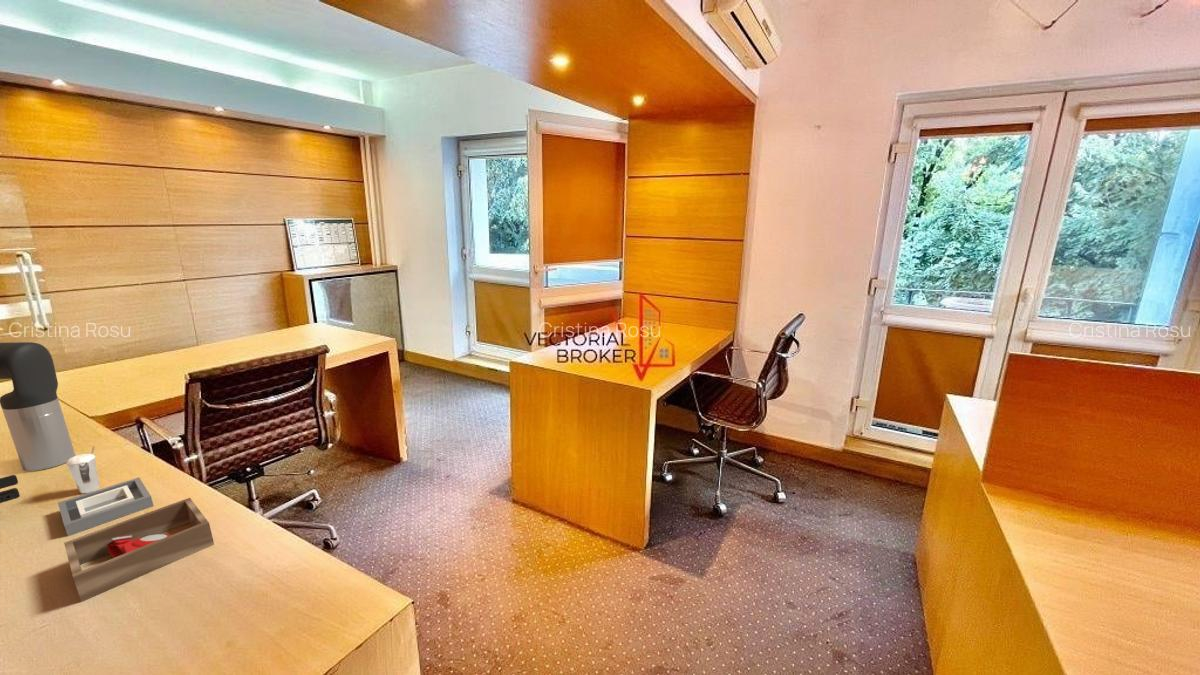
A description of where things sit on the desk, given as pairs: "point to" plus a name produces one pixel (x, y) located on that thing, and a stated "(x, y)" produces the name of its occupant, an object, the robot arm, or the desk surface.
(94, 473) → the milkshake
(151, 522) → the tray
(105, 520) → the dock box
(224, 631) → the desk surface
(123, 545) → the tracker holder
